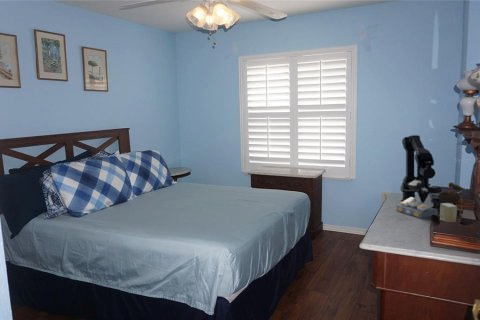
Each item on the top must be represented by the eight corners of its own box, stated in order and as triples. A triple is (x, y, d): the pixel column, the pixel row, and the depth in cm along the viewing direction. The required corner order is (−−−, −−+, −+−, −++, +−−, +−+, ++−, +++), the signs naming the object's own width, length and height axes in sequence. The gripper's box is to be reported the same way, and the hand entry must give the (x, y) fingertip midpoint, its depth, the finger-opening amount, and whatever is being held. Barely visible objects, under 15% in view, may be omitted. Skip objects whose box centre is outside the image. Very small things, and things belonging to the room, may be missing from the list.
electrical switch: (450, 210, 200) (450, 194, 198) (449, 213, 196) (450, 197, 194) (431, 208, 205) (431, 192, 204) (430, 211, 201) (430, 195, 199)
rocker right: (417, 209, 191) (416, 206, 191) (428, 204, 194) (427, 201, 193) (422, 211, 188) (422, 208, 187) (433, 205, 191) (433, 202, 190)
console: (396, 210, 201) (396, 203, 201) (412, 208, 206) (412, 201, 205) (420, 218, 187) (420, 210, 186) (437, 215, 191) (437, 207, 191)
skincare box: (438, 228, 170) (439, 203, 169) (447, 227, 171) (448, 202, 169) (447, 232, 164) (448, 206, 162) (456, 232, 164) (457, 206, 163)
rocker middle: (408, 204, 196) (408, 201, 196) (419, 204, 199) (419, 201, 199) (413, 206, 193) (414, 203, 192) (424, 205, 196) (424, 202, 196)
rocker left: (401, 205, 201) (400, 202, 201) (411, 199, 204) (410, 196, 203) (406, 206, 198) (405, 203, 198) (416, 200, 201) (415, 197, 200)
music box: (464, 219, 182) (467, 181, 178) (465, 227, 173) (468, 187, 169) (430, 216, 190) (432, 179, 186) (429, 223, 180) (431, 185, 176)
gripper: (398, 174, 201) (398, 201, 203) (427, 179, 184) (427, 209, 186) (412, 171, 205) (412, 198, 207) (442, 176, 188) (442, 205, 190)
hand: (422, 202), depth 197 cm, fingers closed, pressing on rocker middle
